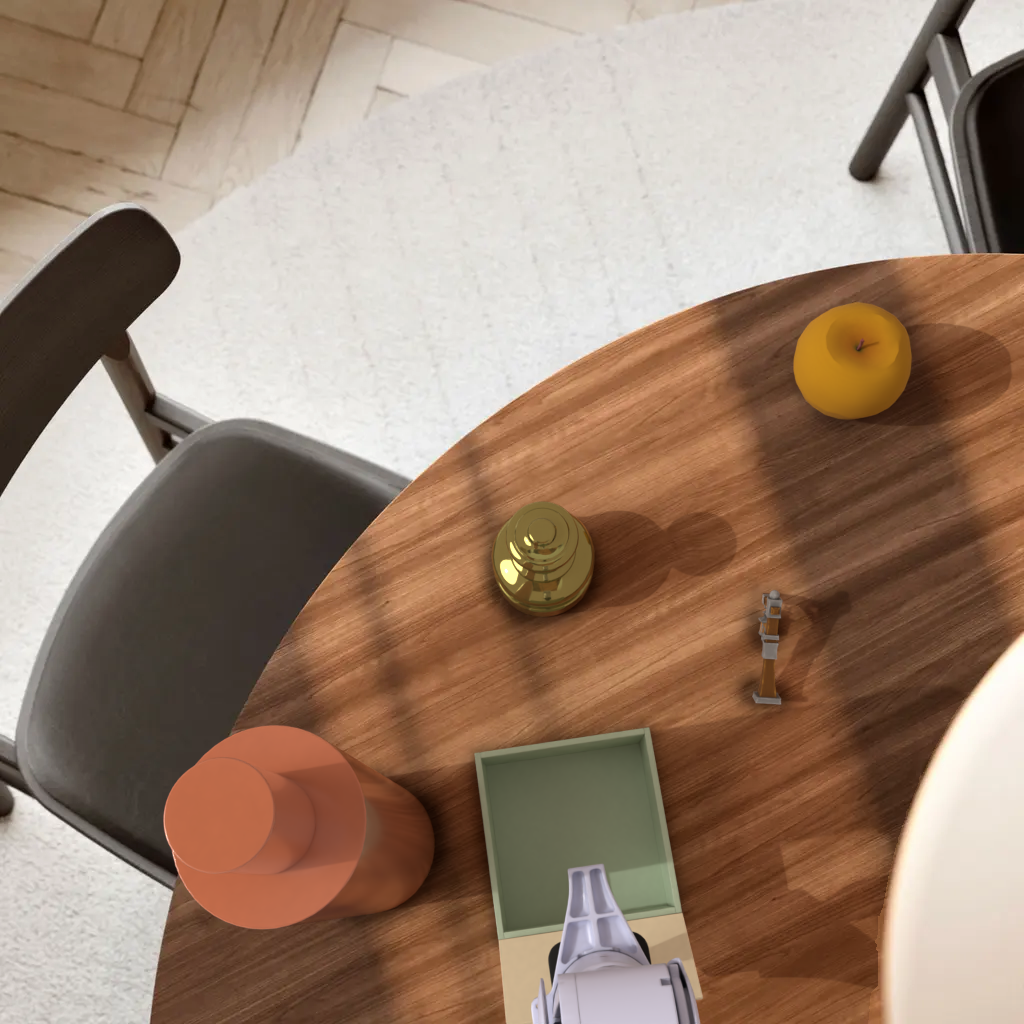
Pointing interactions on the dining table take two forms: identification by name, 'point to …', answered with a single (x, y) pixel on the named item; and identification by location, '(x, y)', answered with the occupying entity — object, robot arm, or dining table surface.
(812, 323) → the apple
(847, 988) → the dining table surface
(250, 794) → the vase
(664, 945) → the door
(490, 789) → the box
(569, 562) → the brass weight
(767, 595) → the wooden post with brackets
